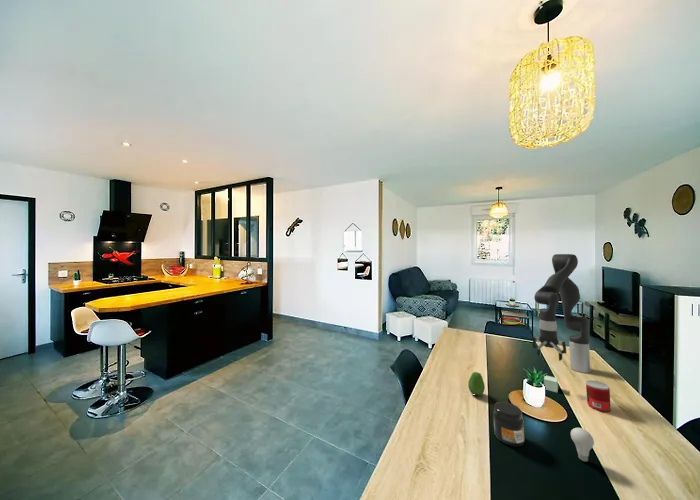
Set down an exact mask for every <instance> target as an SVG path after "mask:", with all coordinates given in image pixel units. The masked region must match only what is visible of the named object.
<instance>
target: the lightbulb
mask: <svg viewBox="0 0 700 500" xmlns="http://www.w3.org/2000/svg"><path fill="white" fill-rule="evenodd" d="M570 438H571V440H572V442H573V443H574V445H575V448H576V451H577V455H578V456H577V457H578V459H579V460H581V461H582V462H588V461H589V456H590V451H591V449H592V448H593V447H594V444H595V441H594V440H595V439H594V437H593V436H592V434H591V433H590V432H589V431H587V430H586V429H584V428H582V427H575V428H573V429H571V430H570Z"/></svg>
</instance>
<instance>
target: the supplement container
mask: <svg viewBox="0 0 700 500" xmlns="http://www.w3.org/2000/svg"><path fill="white" fill-rule="evenodd" d="M493 406H494V407H493V412H492V415H493V416H492V417H493V428H494V429H493V432H494V435H496V436H495V437H496V438H497V440H499V441H500V442H501V441H502V443H503V444H505V445H507V444H508V445H507V446H510V445H511V446H510V447H522V446H523V445H524V444H525V442H526V441H525V428H524V427H525V426H524V424H525V420H524V418H523V412H522V410H521V408H520V407H518V406H517V405H515V404H513V403H511V402H508V401H497V402H495V403H494V405H493Z"/></svg>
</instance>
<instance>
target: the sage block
mask: <svg viewBox="0 0 700 500" xmlns="http://www.w3.org/2000/svg"><path fill="white" fill-rule="evenodd" d="M558 379H559V378H558V377H555V376H550V375H546V376H545V375H544V378H543V386H544V385H545V387H546V389H545V390H546V391H550V392H553V393H556V394H557V393H558V390H559V383H558V382H559V380H558Z"/></svg>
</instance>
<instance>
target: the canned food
mask: <svg viewBox="0 0 700 500" xmlns="http://www.w3.org/2000/svg"><path fill="white" fill-rule="evenodd" d="M585 386H586V387H585V389H586V390H585V391H586V403H587V406H588V407H589V408H591V409H592V410H595V411H598V412H601V413H610V412H611V408H612V407H611V390H610V386H609V385H608V384H606V383H605V382H601V381H597V380H591V379H590V380H586V381H585Z"/></svg>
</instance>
